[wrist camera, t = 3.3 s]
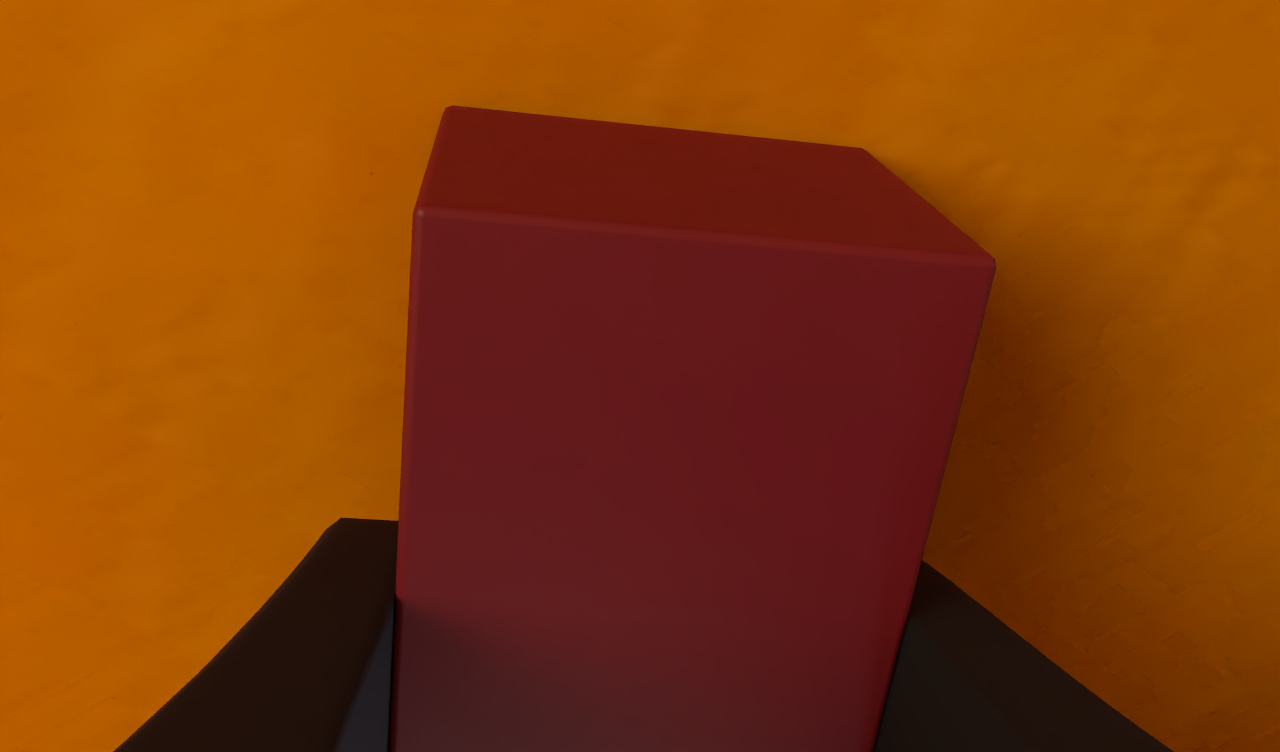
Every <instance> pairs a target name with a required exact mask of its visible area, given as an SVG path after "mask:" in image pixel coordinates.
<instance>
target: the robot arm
mask: <svg viewBox="0 0 1280 752" xmlns="http://www.w3.org/2000/svg"><path fill="white" fill-rule="evenodd" d="M398 524H399V521H390V520H372V519H354V518H340V519H339V520H338V521H336V522H335V523H334V524H333V525H331V526H330V527H329V528H327V529H326V530H325V532H324V533H323V534H322V536H321V537H320V538H319V540H318V541H317V542H316V544H315V545H314V546H313V547H312V549H311V550H310V551H309V552H308V554H307V555H306V556H305V557H304V559H303V560H302V561H301V562H300V563H299V565H298V566H297V567H296V568H295V569H294V571H293V572H292V573H291V574H290V575H289V577H288V578H287V579H286V580H285V581H284V582H283V583H282V585H281V586H280V587H279V588H278V589H277V590H276V591H275V593H274V594H273V595H272V596H271V597H270V598H269V599H268V601H267V602H266V603H265V604H264V605H263V606H262V607H261V608H260V610H259V611H258V612H257V613H256V614H255V615H254V616H253V617H252V618H251V619H250V620H249V621H248V622H247V623H246V624H245V625H244V626H243V627H242V628H241V629H240V631H239V632H238V633H237V634H236V635H235V636H234V637H233V638H232V639H231V640H230V641H229V642H228V643H227V644H226V645H225V646H224V647H223V648H222V649H221V650H220V652H219V653H218V654H217V655H216V656H215V657H214V658H213V659H212V660H211V661H210V662H209V663H208V664H207V665H206V666H205V667H204V668H203V669H202V670H201V671H200V672H199V673H198V674H197V675H196V676H195V677H194V678H193V679H192V680H191V681H190V682H189V683H187V684H186V685H185V686H184V687H183V688H182V689H181V690H180V691H179V692H178V693H177V694H176V695H174V696H173V697H172V698H171V699H170V700H169V701H168V702H167V703H166V704H165V705H164V706H163V707H162V708H160V709H159V710H158V711H157V712H156V713H155V714H154V715H153V716H152V717H151V718H150V719H149V720H148V721H146V722H145V723H144V724H143V725H142V726H141V727H140V728H139V729H138V730H137V731H136V732H135V733H134V734H132V735H131V736H130V737H129V738H128V739H127V740H126V741H125V742H124V743H123V744H121V745H120V746H119V747H118V748H117V749H116V750H115V751H113V752H388V739H389V718H390V696H391V675H392V653H393V632H394V611H395V588H396V567H397V545H398ZM873 752H1174V751H1172V750H1171V749H1169V748H1168V747H1166V746H1165V745H1164V744H1162V743H1161V742H1159V741H1158V740H1156V739H1155V738H1154V737H1152V736H1151V735H1149V734H1148V733H1146V732H1145V731H1144V730H1142V729H1141V728H1139V727H1138V726H1137V725H1135V724H1134V723H1133V722H1131V721H1130V720H1129V719H1127V718H1126V717H1125V716H1123V715H1122V714H1121V713H1119V712H1118V711H1116V710H1115V709H1114V708H1112V707H1111V706H1110V705H1108V704H1107V703H1106V702H1104V701H1103V700H1102V699H1100V698H1099V697H1098V696H1096V695H1095V694H1094V693H1092V692H1091V691H1090V690H1088V689H1087V688H1086V687H1085V686H1083V685H1082V684H1081V683H1079V682H1078V681H1077V680H1075V679H1074V678H1073V677H1072V676H1070V675H1069V674H1068V673H1066V672H1065V671H1064V670H1063V669H1061V668H1060V667H1059V666H1057V665H1056V664H1055V663H1053V662H1052V661H1051V660H1050V659H1048V658H1047V657H1046V656H1045V655H1043V654H1042V653H1041V652H1039V651H1038V650H1037V649H1036V648H1034V647H1033V646H1032V645H1031V644H1029V643H1028V642H1027V641H1026V640H1024V639H1023V638H1022V637H1020V636H1019V635H1018V634H1017V633H1015V632H1014V631H1013V630H1012V629H1010V628H1009V627H1008V626H1007V625H1005V624H1004V623H1003V622H1002V621H1000V620H999V619H998V618H997V617H995V616H994V615H993V614H992V613H990V612H989V611H988V610H987V609H985V608H984V607H983V606H982V605H980V604H979V603H978V602H976V601H975V600H974V599H973V598H971V597H970V596H969V595H968V594H966V593H965V592H964V591H963V590H961V589H960V588H959V587H957V586H956V585H955V584H954V583H952V582H951V581H950V580H948V579H947V578H946V577H944V576H943V575H942V574H940V573H939V572H938V571H936V570H935V569H934V568H932V567H931V566H930V565H928V564H927V563H925V562H924V561H923V560H922V561H921V565H920V569H919V572H918V576H917V580H916V584H915V588H914V592H913V596H912V600H911V604H910V608H909V612H908V616H907V620H906V624H905V627H904V631H903V635H902V639H901V643H900V647H899V651H898V655H897V659H896V663H895V667H894V671H893V675H892V679H891V682H890V686H889V690H888V694H887V698H886V702H885V706H884V710H883V714H882V718H881V722H880V726H879V730H878V734H877V737H876V741H875V745H874V749H873Z"/></svg>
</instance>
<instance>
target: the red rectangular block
mask: <svg viewBox="0 0 1280 752" xmlns="http://www.w3.org/2000/svg"><path fill="white" fill-rule="evenodd" d="M995 270H996V263H995V259H994V258H993V257H992V256H991V255H990V254H988V253H987V252H986V251H985V250H984V249H983V248H981V247H980V246H979V245H978V244H977V243H975V242H974V241H973V240H972V239H971V238H969V237H968V236H967V235H966V234H965V233H963V232H962V231H961V230H960V229H959V228H958V227H956V226H955V225H954V224H953V223H952V222H950V221H949V220H948V219H947V218H946V217H944V216H943V215H942V214H941V213H940V212H938V211H937V210H936V209H935V208H934V207H933V206H931V205H930V204H929V203H928V202H927V201H925V200H924V199H923V198H922V197H921V196H919V195H918V194H917V193H916V192H915V191H913V190H912V189H911V188H910V187H909V186H908V185H906V184H905V183H904V182H903V181H902V180H900V179H899V178H898V177H897V176H896V175H894V174H893V173H892V172H891V171H890V170H889V169H887V168H886V167H885V166H884V165H883V164H881V163H880V162H879V161H878V160H877V159H875V158H874V157H873V156H872V155H871V154H869V153H868V152H867V151H865V150H864V149H862V148H855V147H845V146H835V145H826V144H816V143H806V142H797V141H787V140H778V139H768V138H758V137H749V136H739V135H729V134H720V133H710V132H701V131H691V130H681V129H672V128H662V127H653V126H643V125H633V124H624V123H614V122H604V121H595V120H585V119H576V118H566V117H556V116H547V115H537V114H528V113H518V112H508V111H499V110H489V109H479V108H470V107H460V106H450V107H446V109H445V111H444V113H443V115H442V119H441V122H440V125H439V129H438V132H437V135H436V139H435V142H434V145H433V149H432V152H431V155H430V159H429V162H428V165H427V169H426V172H425V175H424V179H423V182H422V185H421V189H420V192H419V195H418V199H417V202H416V205H415V209H414V212H413V224H412V245H411V267H410V288H409V310H408V331H407V352H406V374H405V395H404V417H403V438H402V460H401V481H400V502H399V524H398V545H397V567H396V588H395V611H394V632H393V653H392V675H391V696H390V718H389V739H388V752H873V749H874V745H875V741H876V737H877V734H878V730H879V726H880V722H881V718H882V714H883V710H884V706H885V702H886V698H887V694H888V690H889V686H890V682H891V679H892V675H893V671H894V667H895V663H896V659H897V655H898V651H899V647H900V643H901V639H902V635H903V631H904V627H905V624H906V620H907V616H908V612H909V608H910V604H911V600H912V596H913V592H914V588H915V584H916V580H917V576H918V572H919V569H920V565H921V561H922V557H923V553H924V549H925V545H926V541H927V537H928V533H929V529H930V525H931V521H932V517H933V513H934V510H935V506H936V502H937V498H938V494H939V490H940V486H941V482H942V478H943V474H944V470H945V466H946V462H947V458H948V455H949V451H950V447H951V443H952V439H953V435H954V431H955V427H956V423H957V419H958V415H959V411H960V407H961V403H962V400H963V396H964V392H965V388H966V384H967V380H968V376H969V372H970V368H971V364H972V360H973V356H974V352H975V348H976V345H977V341H978V337H979V333H980V329H981V325H982V321H983V317H984V313H985V309H986V305H987V301H988V297H989V293H990V289H991V286H992V282H993V278H994V274H995Z"/></svg>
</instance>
